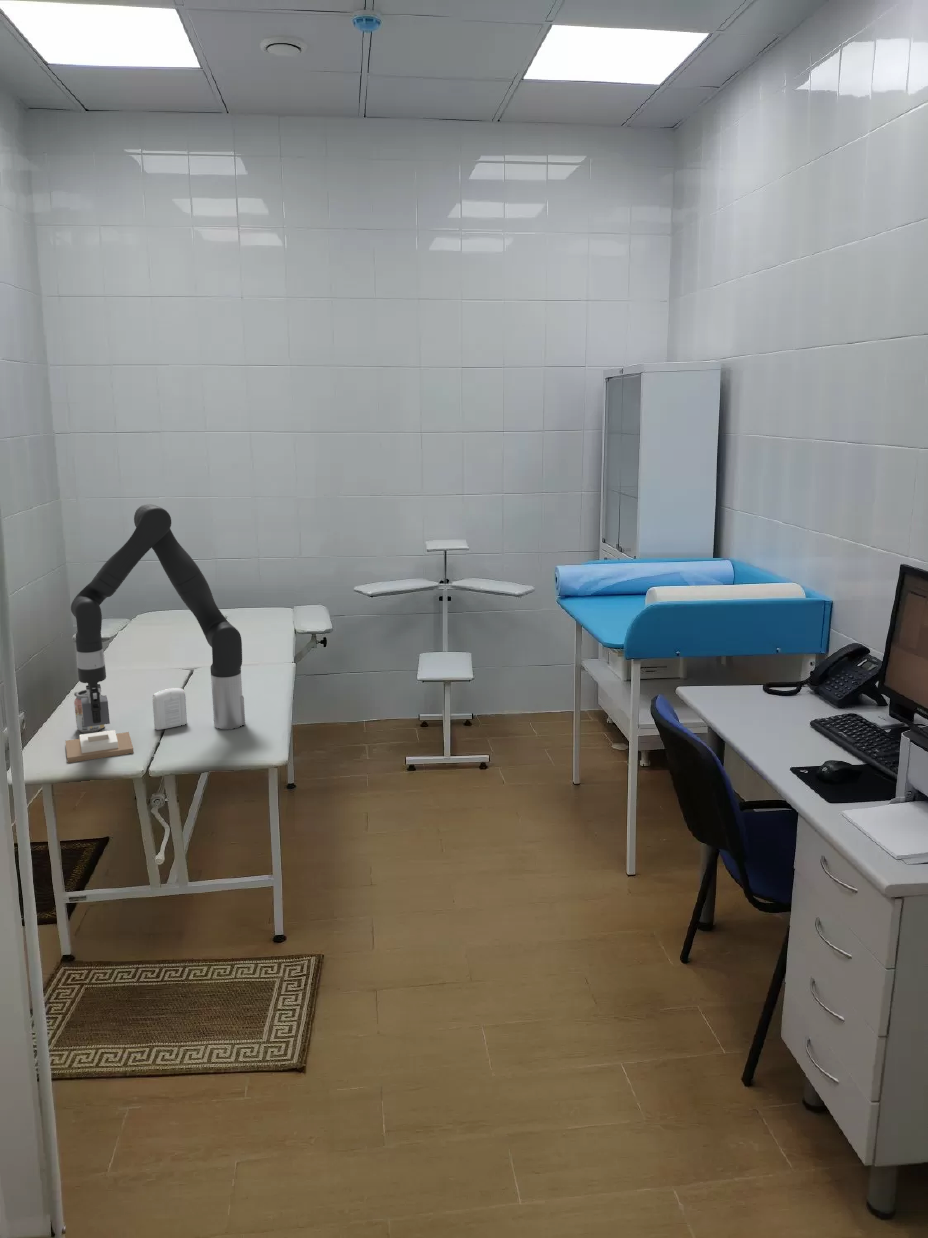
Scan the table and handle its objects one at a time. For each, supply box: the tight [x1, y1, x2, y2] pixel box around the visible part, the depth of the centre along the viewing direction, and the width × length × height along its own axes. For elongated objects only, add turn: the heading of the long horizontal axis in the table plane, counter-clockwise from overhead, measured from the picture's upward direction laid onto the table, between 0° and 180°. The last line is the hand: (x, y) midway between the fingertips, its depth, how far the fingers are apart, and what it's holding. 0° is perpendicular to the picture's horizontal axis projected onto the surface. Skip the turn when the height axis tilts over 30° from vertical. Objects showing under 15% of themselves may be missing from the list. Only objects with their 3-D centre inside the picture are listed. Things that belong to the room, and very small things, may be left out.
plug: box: [81, 695, 111, 729], centre depth 278 cm, size 7×6×8 cm
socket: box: [65, 729, 134, 764], centre depth 280 cm, size 18×14×4 cm
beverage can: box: [73, 689, 104, 734], centre depth 295 cm, size 9×8×12 cm
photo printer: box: [152, 687, 188, 731], centre depth 297 cm, size 10×4×12 cm, turn 125°
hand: (96, 718), depth 278 cm, fingers closed on plug, 5 cm apart
